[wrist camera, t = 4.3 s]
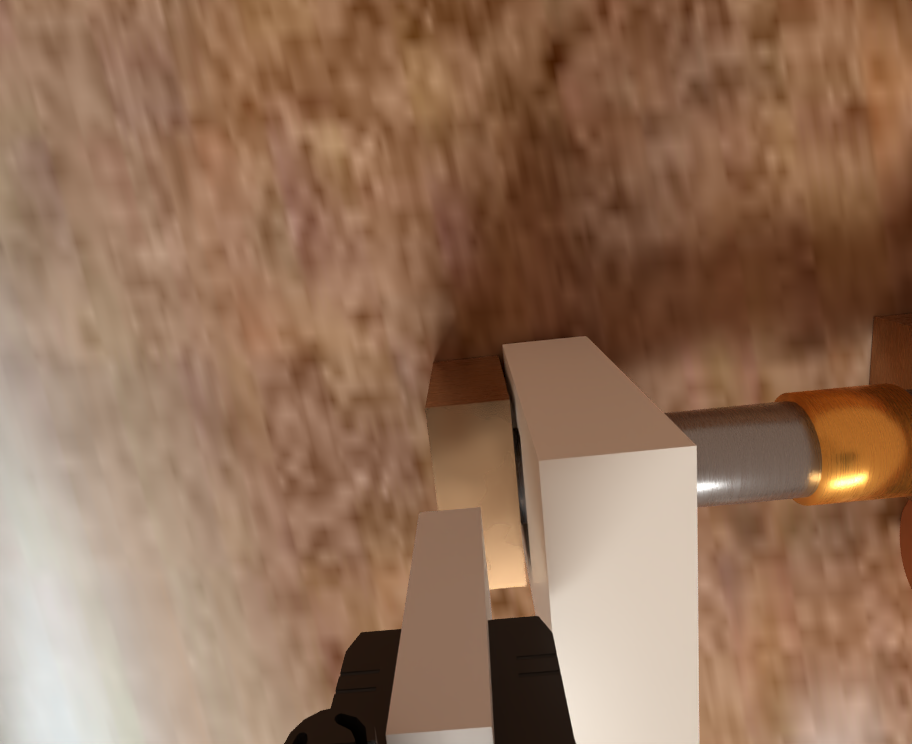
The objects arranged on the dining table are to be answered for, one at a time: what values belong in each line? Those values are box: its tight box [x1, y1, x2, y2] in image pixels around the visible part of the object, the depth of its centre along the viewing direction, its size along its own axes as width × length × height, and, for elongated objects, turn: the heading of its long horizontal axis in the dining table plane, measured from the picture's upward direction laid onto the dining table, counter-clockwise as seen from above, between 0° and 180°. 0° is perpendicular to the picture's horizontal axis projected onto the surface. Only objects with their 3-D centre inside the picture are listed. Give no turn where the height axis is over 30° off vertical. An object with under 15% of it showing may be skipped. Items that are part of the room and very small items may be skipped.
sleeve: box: [502, 336, 699, 744], centre depth 18 cm, size 3×7×11 cm, turn 6°
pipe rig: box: [425, 313, 912, 589], centre depth 20 cm, size 18×6×6 cm, turn 96°
